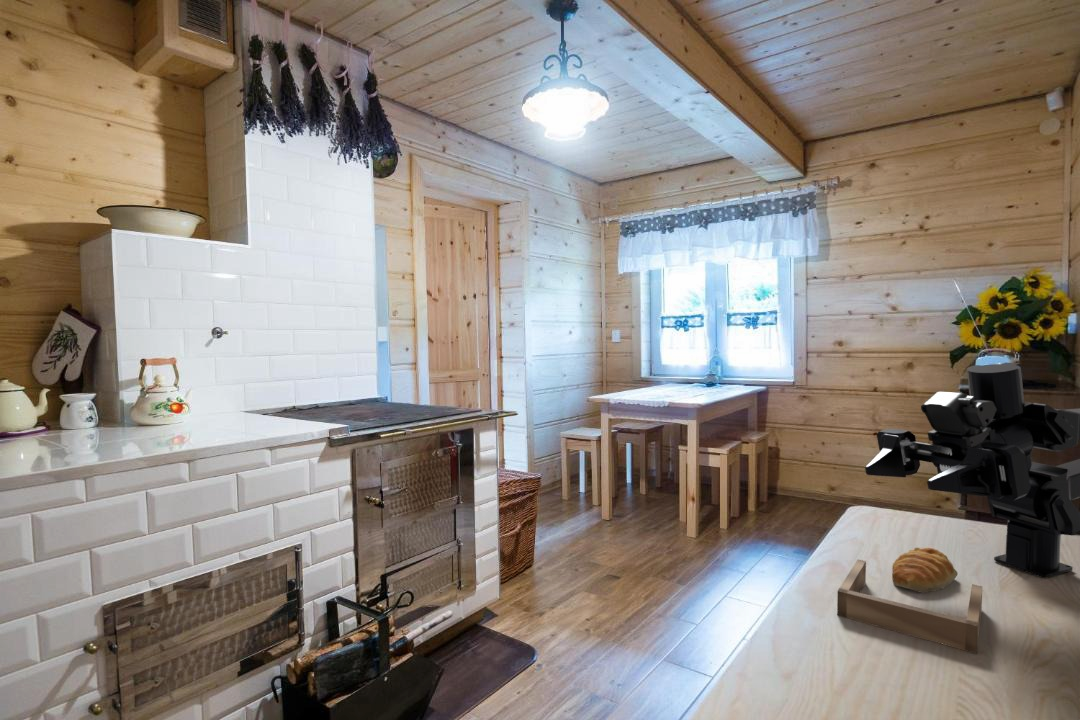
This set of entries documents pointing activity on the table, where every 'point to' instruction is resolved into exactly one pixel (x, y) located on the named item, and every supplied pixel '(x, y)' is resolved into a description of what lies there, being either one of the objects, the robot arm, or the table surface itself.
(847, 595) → the wooden frame
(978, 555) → the table surface
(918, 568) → the pastry
